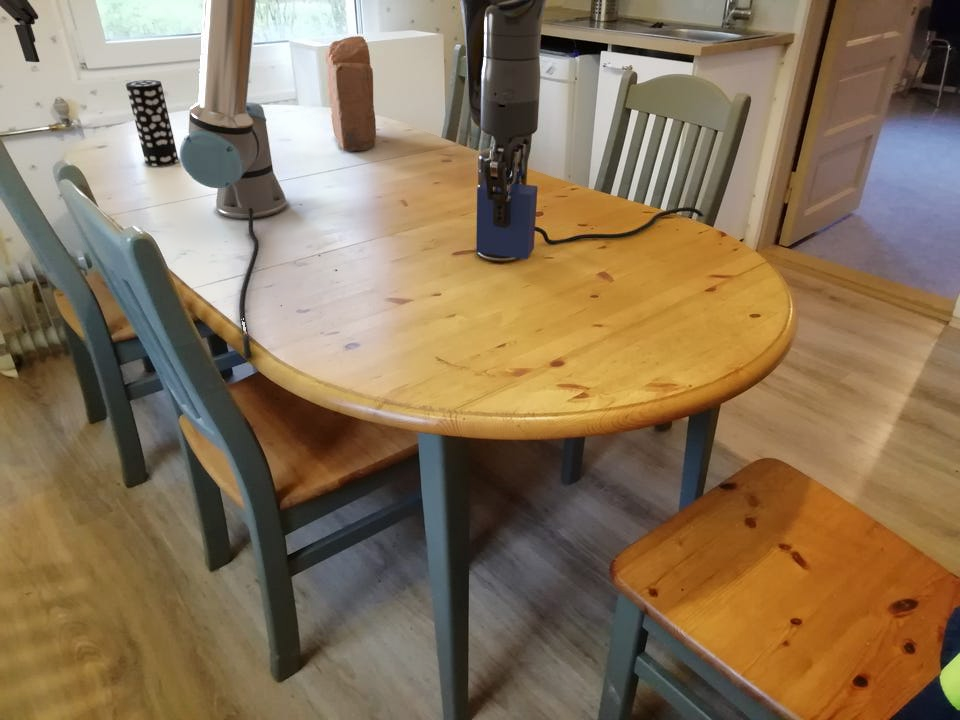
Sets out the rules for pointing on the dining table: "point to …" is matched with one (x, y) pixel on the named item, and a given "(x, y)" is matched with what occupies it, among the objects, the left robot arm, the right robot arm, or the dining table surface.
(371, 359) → the dining table surface
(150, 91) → the black white spotted cylinder
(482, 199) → the block
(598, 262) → the dining table surface
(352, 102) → the stone
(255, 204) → the left robot arm
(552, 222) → the dining table surface
